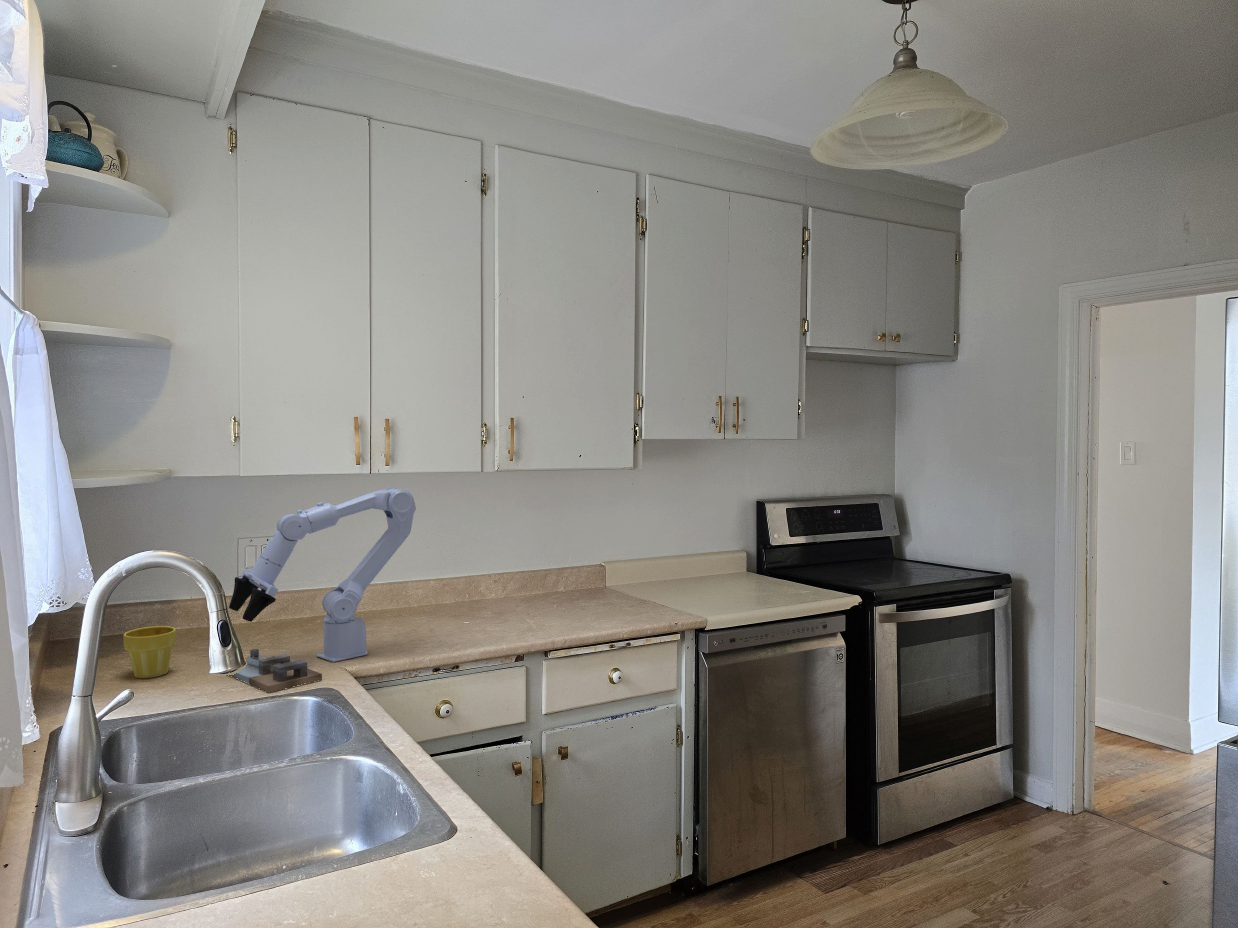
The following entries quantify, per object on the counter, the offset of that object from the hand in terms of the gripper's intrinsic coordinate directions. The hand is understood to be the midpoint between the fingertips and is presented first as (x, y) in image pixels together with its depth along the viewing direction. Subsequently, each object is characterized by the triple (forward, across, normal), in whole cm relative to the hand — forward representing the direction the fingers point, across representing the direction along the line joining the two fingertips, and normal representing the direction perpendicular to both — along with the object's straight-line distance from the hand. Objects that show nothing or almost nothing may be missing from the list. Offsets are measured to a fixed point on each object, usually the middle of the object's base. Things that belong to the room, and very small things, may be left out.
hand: (239, 614), depth 190 cm
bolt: (+7, +9, +6) cm, 13 cm away
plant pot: (+20, -8, -7) cm, 23 cm away
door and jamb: (+8, +13, +7) cm, 17 cm away
